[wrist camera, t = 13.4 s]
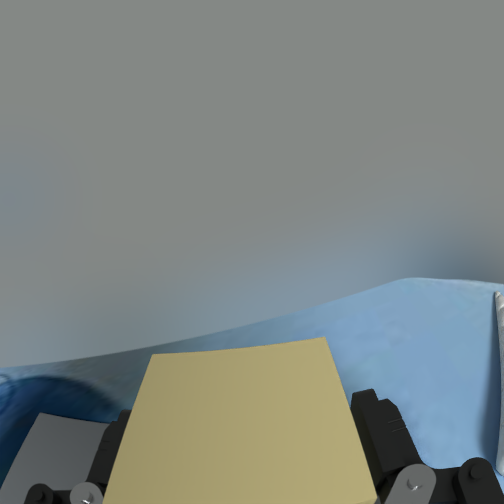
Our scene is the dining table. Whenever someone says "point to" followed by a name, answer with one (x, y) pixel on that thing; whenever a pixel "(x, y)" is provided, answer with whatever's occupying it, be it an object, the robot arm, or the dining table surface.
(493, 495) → the robot arm
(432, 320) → the dining table surface
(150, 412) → the tall cream block
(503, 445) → the unicorn horn
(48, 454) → the mat
